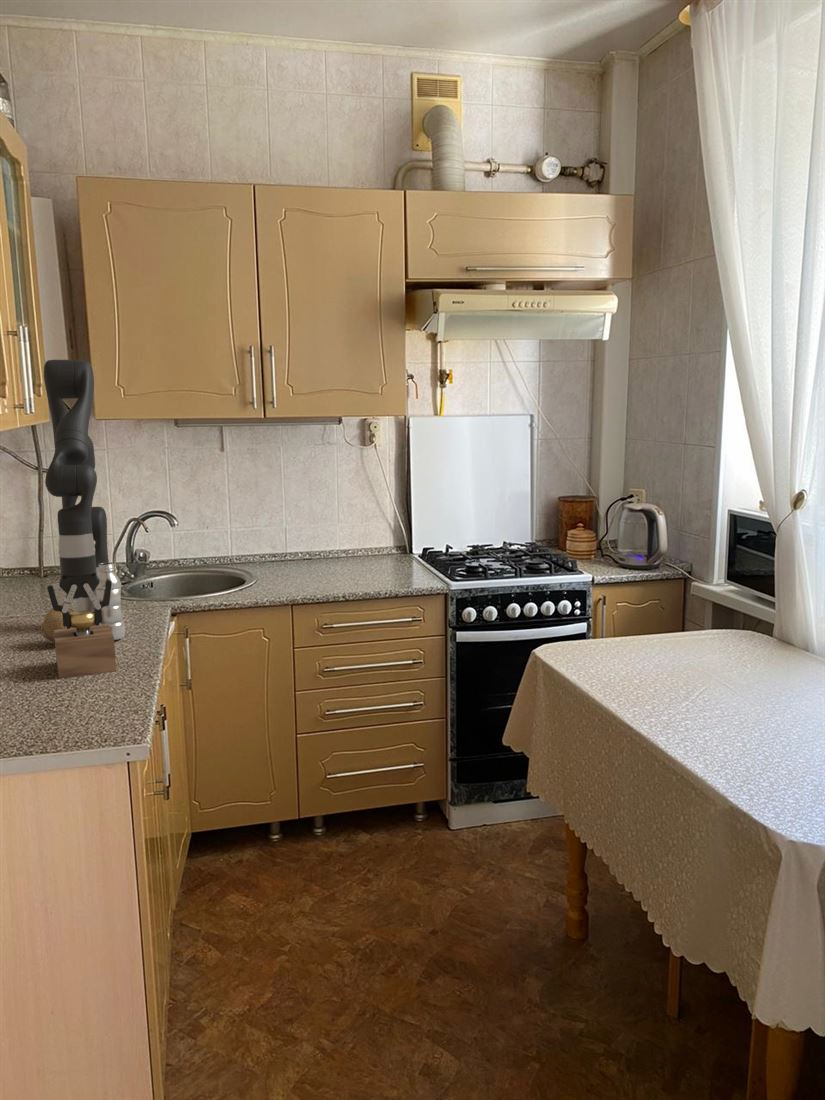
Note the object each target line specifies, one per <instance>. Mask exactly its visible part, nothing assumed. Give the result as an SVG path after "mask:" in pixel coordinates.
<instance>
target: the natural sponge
mask: <svg viewBox="0 0 825 1100" xmlns="http://www.w3.org/2000/svg"><path fill="white" fill-rule="evenodd" d="M68 611H69V613H71V612H75V610H73V609H72V608H71V607H69V609H68ZM70 628H72V627H70ZM61 629H67V626H66V627H64V625H63V617H62V613H61V612H59V611H54V610H53V608H51V609H50V610H49V611H48V612H47V614H46V615H45V617H44V619H43V622H42V624H41V627H40V634H41V636H42V638H44V639H46V640H48V641H50V642H52V643H54V644H55V636H54V630H61Z"/></svg>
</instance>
